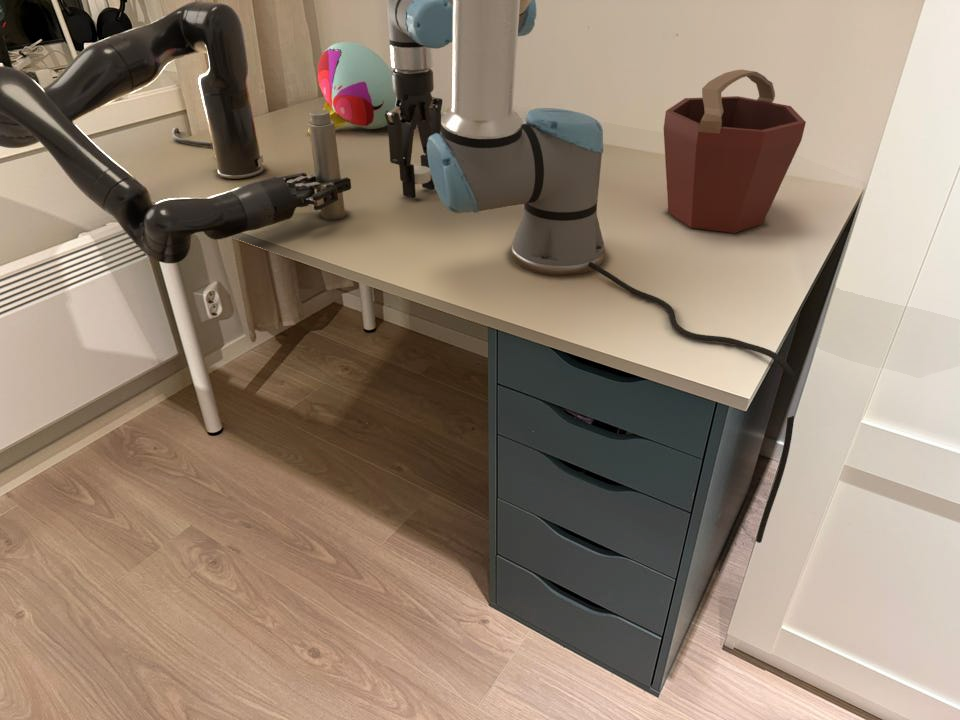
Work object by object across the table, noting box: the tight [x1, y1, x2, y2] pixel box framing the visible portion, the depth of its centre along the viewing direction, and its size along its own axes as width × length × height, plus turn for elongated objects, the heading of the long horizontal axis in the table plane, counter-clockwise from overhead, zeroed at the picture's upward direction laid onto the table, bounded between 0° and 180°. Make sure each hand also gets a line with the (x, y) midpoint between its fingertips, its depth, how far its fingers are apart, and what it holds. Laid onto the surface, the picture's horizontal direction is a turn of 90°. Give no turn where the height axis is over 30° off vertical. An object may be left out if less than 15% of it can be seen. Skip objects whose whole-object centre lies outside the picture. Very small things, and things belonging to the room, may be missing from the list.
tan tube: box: [307, 109, 346, 221], centre depth 128 cm, size 4×4×19 cm
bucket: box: [663, 69, 807, 234], centre depth 125 cm, size 24×22×25 cm
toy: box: [307, 41, 397, 133], centre depth 176 cm, size 24×24×20 cm
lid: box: [414, 165, 431, 185], centre depth 139 cm, size 5×5×2 cm
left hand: (341, 179), depth 131 cm, fingers closed on tan tube, 4 cm apart
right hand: (419, 191), depth 141 cm, fingers closed on lid, 5 cm apart
